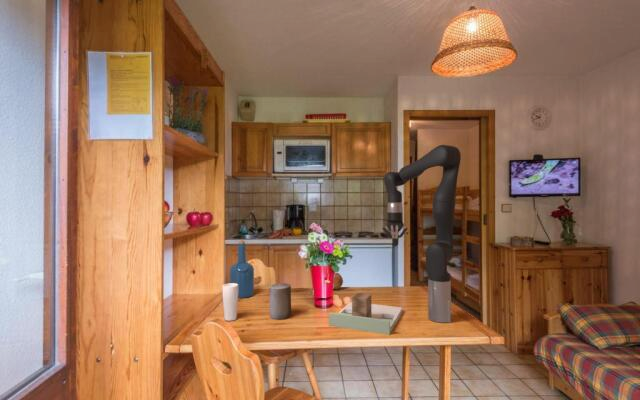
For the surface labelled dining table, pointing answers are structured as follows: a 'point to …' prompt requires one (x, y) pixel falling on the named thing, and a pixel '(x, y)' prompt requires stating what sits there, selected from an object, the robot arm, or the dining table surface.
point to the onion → (337, 281)
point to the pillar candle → (280, 301)
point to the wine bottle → (242, 273)
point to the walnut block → (361, 305)
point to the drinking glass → (230, 301)
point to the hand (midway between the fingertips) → (395, 246)
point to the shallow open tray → (367, 319)
